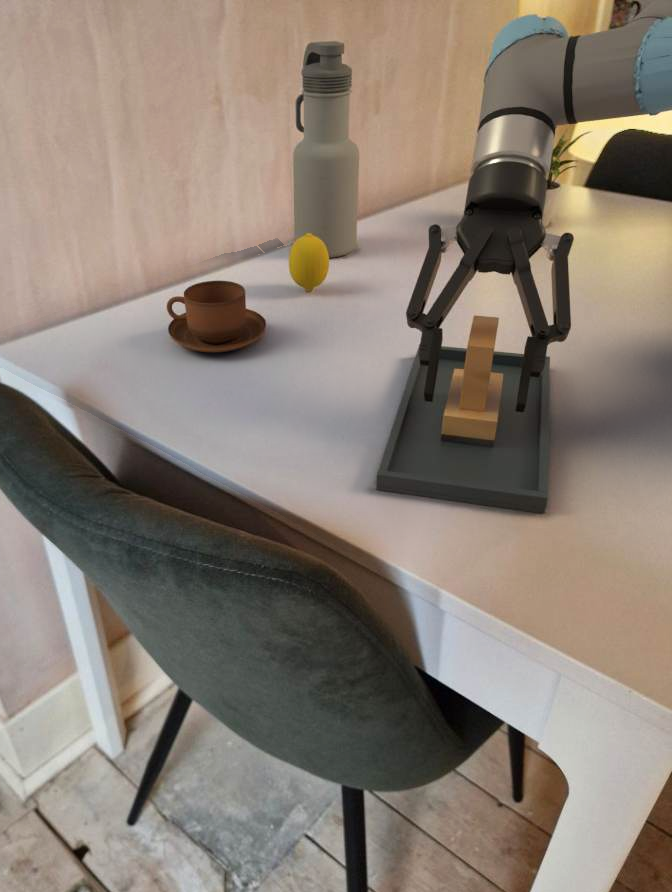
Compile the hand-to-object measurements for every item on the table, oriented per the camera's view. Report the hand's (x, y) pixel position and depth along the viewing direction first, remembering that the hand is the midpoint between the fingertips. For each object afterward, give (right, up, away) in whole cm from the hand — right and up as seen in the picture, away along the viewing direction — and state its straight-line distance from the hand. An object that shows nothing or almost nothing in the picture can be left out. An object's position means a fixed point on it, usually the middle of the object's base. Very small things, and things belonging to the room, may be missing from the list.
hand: (473, 402), depth 72 cm
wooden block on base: (+1, -1, +5) cm, 5 cm away
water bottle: (-12, +31, +49) cm, 59 cm away
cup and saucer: (-26, +11, +22) cm, 36 cm away
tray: (+1, -1, +5) cm, 5 cm away
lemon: (-15, +20, +35) cm, 43 cm away
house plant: (+22, +39, +57) cm, 73 cm away
